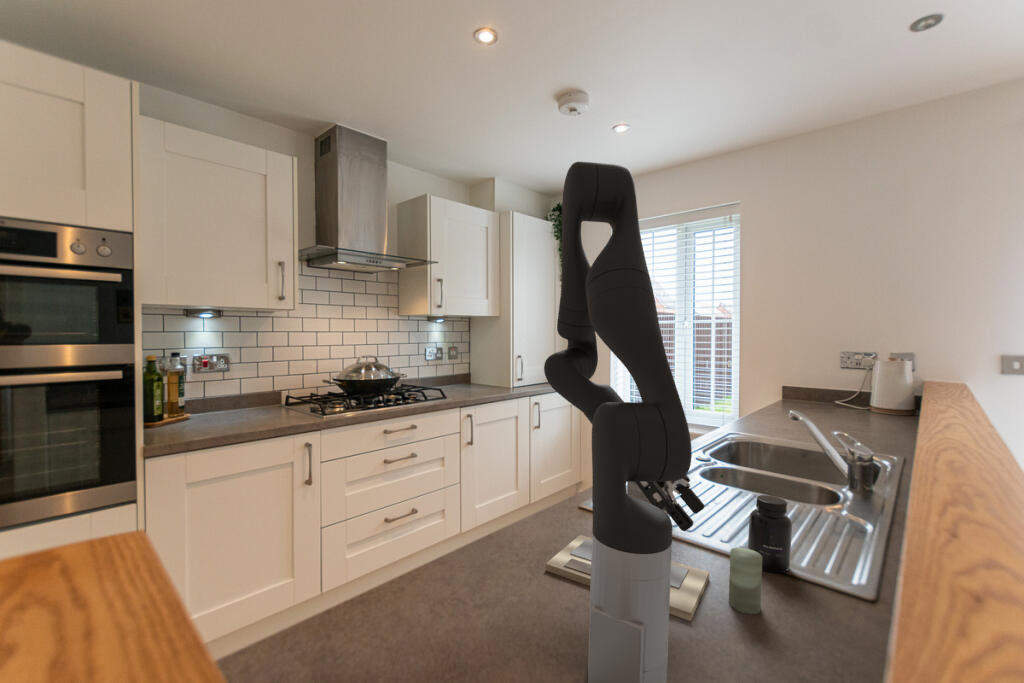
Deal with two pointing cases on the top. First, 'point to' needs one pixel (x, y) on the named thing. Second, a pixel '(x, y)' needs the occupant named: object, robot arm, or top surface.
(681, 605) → the board
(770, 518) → the supplement bottle
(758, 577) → the green cylinder
